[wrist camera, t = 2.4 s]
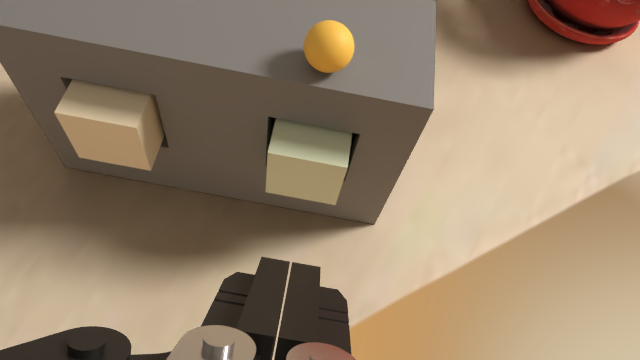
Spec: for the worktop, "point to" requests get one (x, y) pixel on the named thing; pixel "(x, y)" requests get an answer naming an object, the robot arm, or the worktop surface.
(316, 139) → the key sage
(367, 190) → the keypad console
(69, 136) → the block
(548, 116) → the worktop surface
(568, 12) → the plant pot
